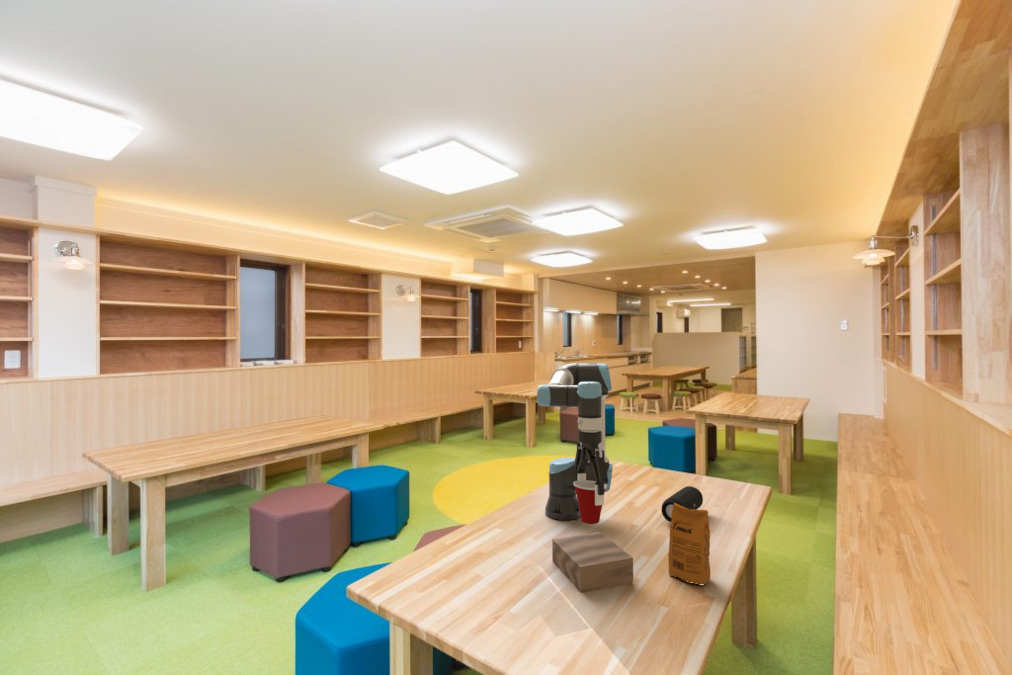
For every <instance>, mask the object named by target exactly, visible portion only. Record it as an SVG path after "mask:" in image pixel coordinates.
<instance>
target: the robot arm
mask: <svg viewBox="0 0 1012 675" xmlns="http://www.w3.org/2000/svg"><path fill="white" fill-rule="evenodd" d="M611 380H612V379H611V374H610V368H609V365H608V364H607V363H602V362H601V363H599V362H595V363H594V362H591V363H590V362H586V363H585V362H582V363H581V362H580V363H576V362H573V363H567V364H564V365H561V366H559V367H557V368H556V369H554V371H552V373H551V375H550V381H549V383H548V384H547V383H546V384H539V385H538V387H537V389H536V402H537V405H539V407H547V408H548V407H551V408H552V407H554V408H555V407H561V408H565V407H566V408H567V407H569V408H577V414H578V415H577V416H578V417H577V421H576V422H577V424H578V425H577V429H578V431H577V441H578V442H576V452H575V457H570V456H569V457H568V456H567V457H559V458H556V459H553V460H552V461H550V462H549V465H548V466H549V467H548V479H549V480H548V489H549V490H548V492H549V493H548V494H549V495H548V498H547V501H546V505H545V507H544V508H545V509H544V510H545V511H544V513H545V515H546V516H547V517H549V518H550V519H553V520H557V519H558V521H571V520H576V519H579V518H580V517H579V516H580V511H579V507H578V500H577V494H576V490H575V486H574V484H573V482H575V481H581V480H587V481H596V483H594V484H595V505H596V506H597V505H602V506H603V505H605V493H607V492H609V491H610V490H611V485H612V477H613V464H612V463H610V459H609V457H607V456H606V398H607V397H609V395H610V394H609V392H612V390H613V388H612V381H611ZM604 484H606V485H607V488H606V490H605V493H604Z"/></svg>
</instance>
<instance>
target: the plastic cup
mask: <svg viewBox="0 0 1012 675" xmlns="http://www.w3.org/2000/svg"><path fill="white" fill-rule="evenodd" d="M594 483H596V481H587V480H581V481H575V482H573V484H574V486H575V490H576V496H577V500H578V507H579V511H580V517H579V518H580V521H581V522H582V523H584V524H587V525H596V524H598V523H599V522H600V520H601V512H602V511H603V510H602V509H603V505H597V506H596V505H595V484H594ZM606 488H607V485H606V484H604V494H605V493H606V492H605V490H606Z"/></svg>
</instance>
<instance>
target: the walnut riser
mask: <svg viewBox="0 0 1012 675" xmlns="http://www.w3.org/2000/svg"><path fill="white" fill-rule="evenodd" d="M551 540H552V542H551V550H552V551H551V552H552V556H551V557H552V559H551V560H552V563H553V564H554V565H555V566H556V567H557V568H558V569H559V571H561V573H562V574H563V575H564V576H565V578H567V579H568V581H569V582H570V583H571V584H572V585H573V586H574V587H575V589H577V591H578V592H579V593H587V592H591V591H592V592H593V591H597V590H598V591H599V590H605V589H610V588H611V589H612V588H615V587H622V586H627V584H629V585H633V584H634V557H633V556H632V555H630V554H629V553H628V552H626V551H625V550H623V549H622V548H621V547H620V546H619V545H617V544H616V543H614V541H613V540H611V539H609V538H608V537H607V536H606V535H604V534H603V533H602V532H601V531H597V532H591V533H585V534H584V533H583V534H577V535H573V536H572V535H571V536H565V537H560V538H558V537H557V538H552V539H551ZM632 583H633V584H632Z"/></svg>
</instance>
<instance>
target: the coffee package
mask: <svg viewBox="0 0 1012 675" xmlns="http://www.w3.org/2000/svg"><path fill="white" fill-rule="evenodd" d="M709 521H710V520H709V512H708V510H707V509H697V510H694V509H687V508H685V507H683V506H680V505H678V504H676V503H674V505H673V510H672V520H671V522H670V529H669V544H668V557H667V560H668V563H667V564H668V575H671V576H674V577H673V578H676V577H678V579H680V578H681V579H680V580H682V579H683V580H685V581H688V582H693V583H697V584H705V583H706V582H707V583H708V581H710V578H711V566H710V554H711V553H710V552H711V550H710V547H711V545H710V544H711V542H710V541H711V529H710V522H709ZM671 576H670V577H671ZM683 580H682V581H683ZM685 581H684V582H685ZM705 585H706V584H705Z"/></svg>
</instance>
